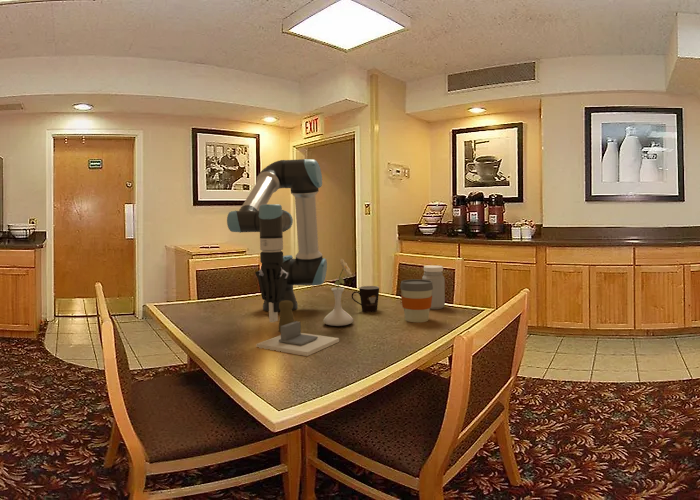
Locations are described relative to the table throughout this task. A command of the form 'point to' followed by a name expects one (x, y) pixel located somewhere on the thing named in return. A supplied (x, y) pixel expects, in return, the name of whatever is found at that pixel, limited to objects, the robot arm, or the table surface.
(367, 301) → the coffee mug
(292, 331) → the grey bookend
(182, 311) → the table surface
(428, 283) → the reusable coffee cup
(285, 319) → the olive brown pawn
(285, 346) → the socket plate
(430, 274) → the jar
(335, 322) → the flower in vase
